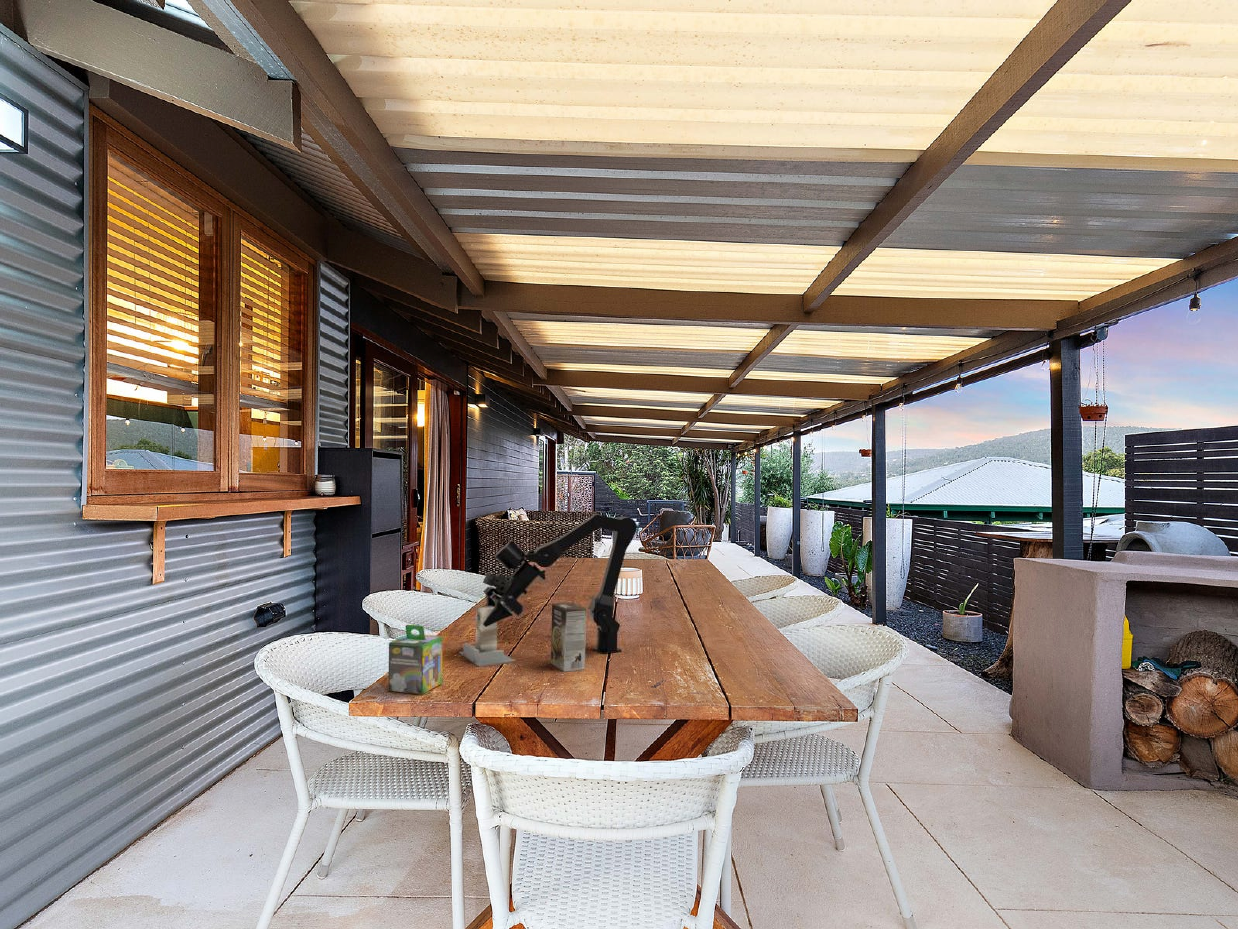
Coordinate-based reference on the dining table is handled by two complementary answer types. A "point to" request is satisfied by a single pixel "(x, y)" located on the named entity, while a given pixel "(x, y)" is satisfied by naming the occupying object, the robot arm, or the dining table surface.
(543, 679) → the dining table surface
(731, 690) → the dining table surface
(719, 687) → the dining table surface
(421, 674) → the chalk box
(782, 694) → the dining table surface
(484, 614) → the link block
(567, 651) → the coffee box
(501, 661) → the keeper bracket
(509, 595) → the robot arm
